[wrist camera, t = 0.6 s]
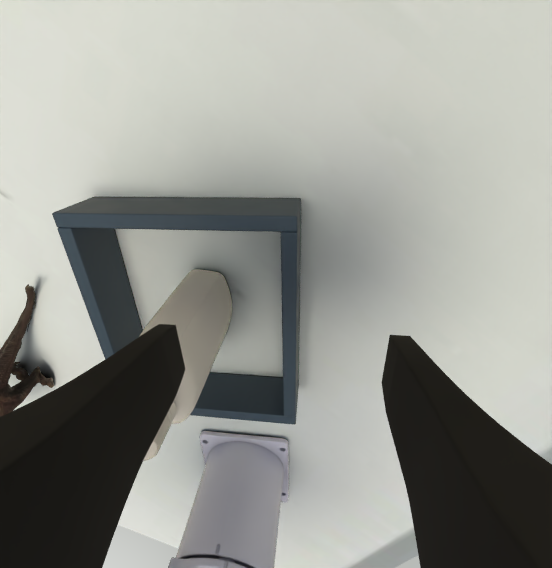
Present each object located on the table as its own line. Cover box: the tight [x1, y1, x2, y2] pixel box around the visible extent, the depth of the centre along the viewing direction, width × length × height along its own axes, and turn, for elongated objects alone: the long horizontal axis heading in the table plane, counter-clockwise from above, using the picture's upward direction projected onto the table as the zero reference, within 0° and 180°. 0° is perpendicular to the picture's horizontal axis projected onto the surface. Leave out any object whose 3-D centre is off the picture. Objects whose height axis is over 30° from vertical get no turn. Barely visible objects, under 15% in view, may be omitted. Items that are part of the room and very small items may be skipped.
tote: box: [52, 197, 301, 424], centre depth 21 cm, size 15×13×4 cm
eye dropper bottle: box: [139, 269, 232, 461], centre depth 17 cm, size 4×6×12 cm
